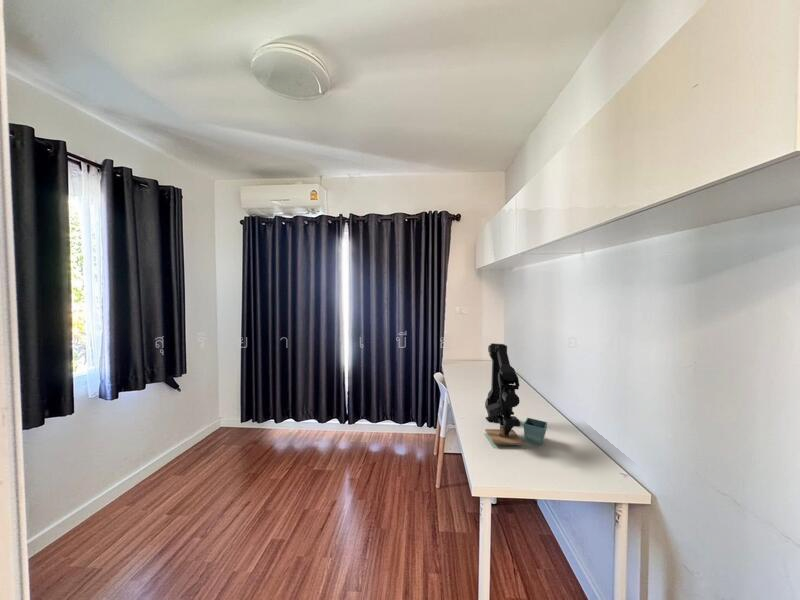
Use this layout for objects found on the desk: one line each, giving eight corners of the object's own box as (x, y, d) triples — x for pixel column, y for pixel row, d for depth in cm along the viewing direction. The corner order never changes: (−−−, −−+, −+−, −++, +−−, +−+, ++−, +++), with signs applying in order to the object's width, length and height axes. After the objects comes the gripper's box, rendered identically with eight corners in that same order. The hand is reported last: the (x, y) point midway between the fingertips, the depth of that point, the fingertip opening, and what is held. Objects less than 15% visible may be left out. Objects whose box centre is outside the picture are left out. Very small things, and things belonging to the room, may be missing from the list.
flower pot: (546, 441, 154) (547, 421, 153) (543, 449, 146) (544, 428, 146) (526, 436, 158) (527, 417, 158) (522, 443, 151) (523, 423, 150)
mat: (483, 434, 158) (483, 433, 158) (513, 435, 159) (513, 434, 159) (493, 449, 144) (493, 448, 144) (525, 449, 145) (525, 448, 145)
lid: (485, 430, 158) (485, 420, 157) (512, 431, 158) (513, 421, 158) (494, 444, 145) (495, 433, 144) (524, 444, 145) (525, 433, 145)
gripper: (482, 391, 159) (480, 424, 160) (495, 406, 141) (493, 443, 142) (505, 392, 160) (503, 424, 161) (521, 407, 141) (519, 443, 142)
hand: (504, 433), depth 151 cm, fingers closed on lid, 4 cm apart
